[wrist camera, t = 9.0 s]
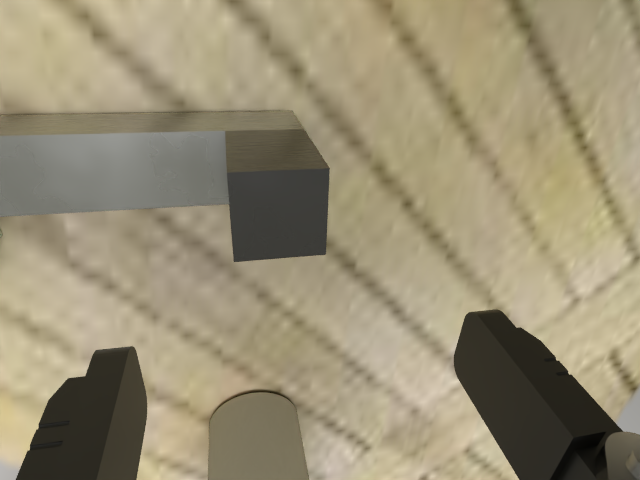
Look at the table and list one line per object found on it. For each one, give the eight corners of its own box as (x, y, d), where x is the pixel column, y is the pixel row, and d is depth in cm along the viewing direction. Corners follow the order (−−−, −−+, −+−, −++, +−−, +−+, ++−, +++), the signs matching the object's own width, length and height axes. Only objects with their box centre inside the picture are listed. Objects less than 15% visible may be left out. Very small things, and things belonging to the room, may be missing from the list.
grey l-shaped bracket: (-141, 117, 21) (-391, 198, 13) (292, 110, 25) (329, 168, 17) (-105, 191, 23) (-299, 305, 15) (292, 173, 27) (325, 254, 19)
